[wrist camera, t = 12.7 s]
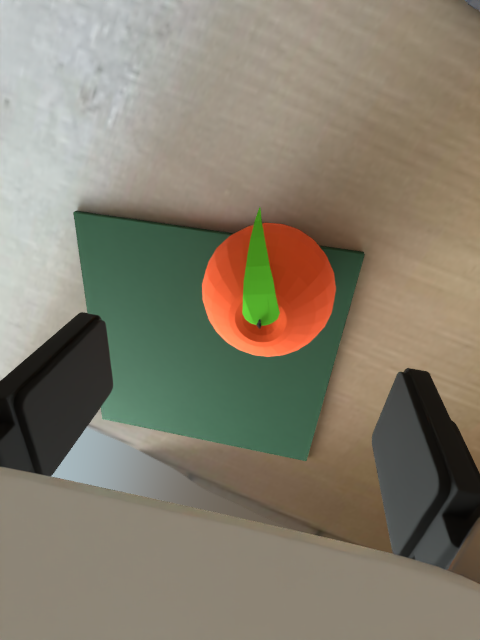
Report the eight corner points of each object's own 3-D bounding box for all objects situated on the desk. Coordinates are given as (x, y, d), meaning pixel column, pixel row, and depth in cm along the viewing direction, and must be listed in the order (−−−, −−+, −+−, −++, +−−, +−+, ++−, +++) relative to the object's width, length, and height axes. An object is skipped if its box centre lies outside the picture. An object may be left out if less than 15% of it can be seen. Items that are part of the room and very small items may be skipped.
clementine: (208, 195, 20) (164, 225, 14) (334, 184, 19) (345, 214, 13) (225, 318, 24) (196, 385, 18) (331, 317, 22) (338, 389, 16)
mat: (104, 415, 31) (102, 419, 31) (76, 210, 22) (72, 212, 22) (306, 457, 30) (306, 461, 29) (364, 251, 21) (364, 254, 20)
